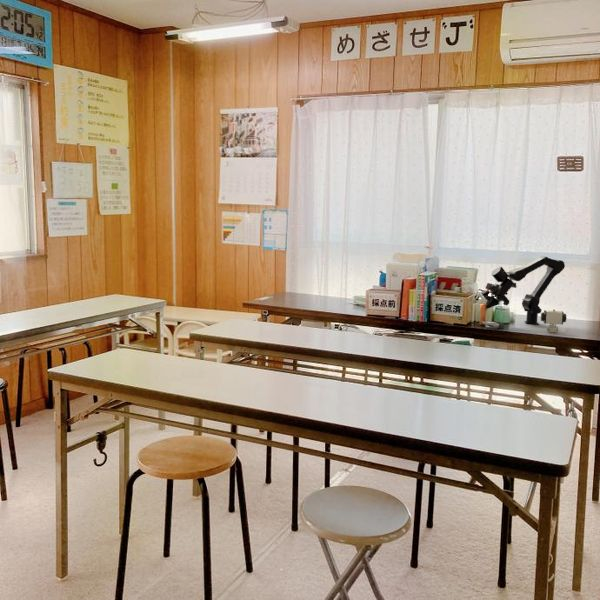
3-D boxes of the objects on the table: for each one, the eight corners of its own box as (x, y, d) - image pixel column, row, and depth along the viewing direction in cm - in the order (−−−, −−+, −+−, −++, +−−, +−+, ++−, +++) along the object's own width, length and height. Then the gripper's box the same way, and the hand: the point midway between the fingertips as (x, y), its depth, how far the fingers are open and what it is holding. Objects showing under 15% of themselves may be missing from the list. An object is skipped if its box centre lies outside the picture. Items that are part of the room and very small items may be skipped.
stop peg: (496, 327, 331) (497, 322, 331) (502, 327, 331) (503, 322, 331) (497, 328, 328) (498, 323, 328) (503, 328, 328) (504, 323, 328)
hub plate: (484, 326, 334) (484, 324, 333) (497, 326, 333) (497, 324, 333) (486, 328, 327) (486, 326, 327) (500, 329, 326) (500, 327, 326)
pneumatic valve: (565, 333, 317) (567, 310, 315) (540, 332, 320) (542, 309, 318) (563, 331, 322) (565, 308, 320) (539, 330, 325) (541, 307, 323)
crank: (500, 328, 327) (501, 307, 326) (493, 328, 326) (494, 307, 324) (483, 323, 339) (484, 303, 337) (477, 324, 337) (478, 304, 335)
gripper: (485, 275, 344) (466, 296, 342) (506, 280, 327) (487, 301, 325) (495, 289, 348) (477, 309, 346) (517, 294, 331) (498, 315, 329)
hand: (484, 308), depth 337 cm, fingers closed, pressing on crank
